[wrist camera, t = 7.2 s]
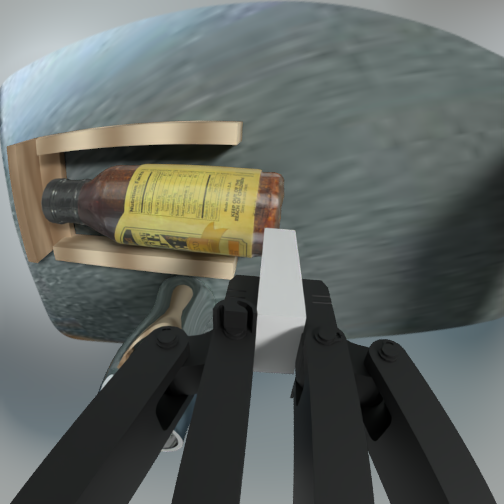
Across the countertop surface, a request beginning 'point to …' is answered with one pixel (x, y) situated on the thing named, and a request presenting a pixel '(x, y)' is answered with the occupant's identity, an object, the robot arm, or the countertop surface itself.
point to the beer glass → (178, 315)
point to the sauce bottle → (173, 206)
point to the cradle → (101, 247)
